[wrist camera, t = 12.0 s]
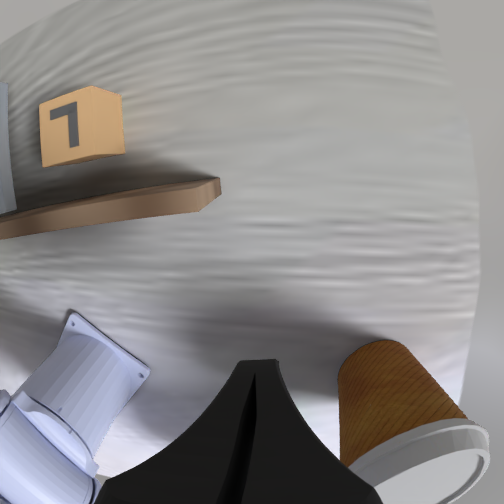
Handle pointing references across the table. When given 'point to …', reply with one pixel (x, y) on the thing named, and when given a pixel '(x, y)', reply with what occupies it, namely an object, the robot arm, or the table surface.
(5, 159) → the slate cover
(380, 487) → the disposable coffee cup
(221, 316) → the table surface
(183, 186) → the walnut track wall
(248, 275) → the table surface
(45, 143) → the letter cube
